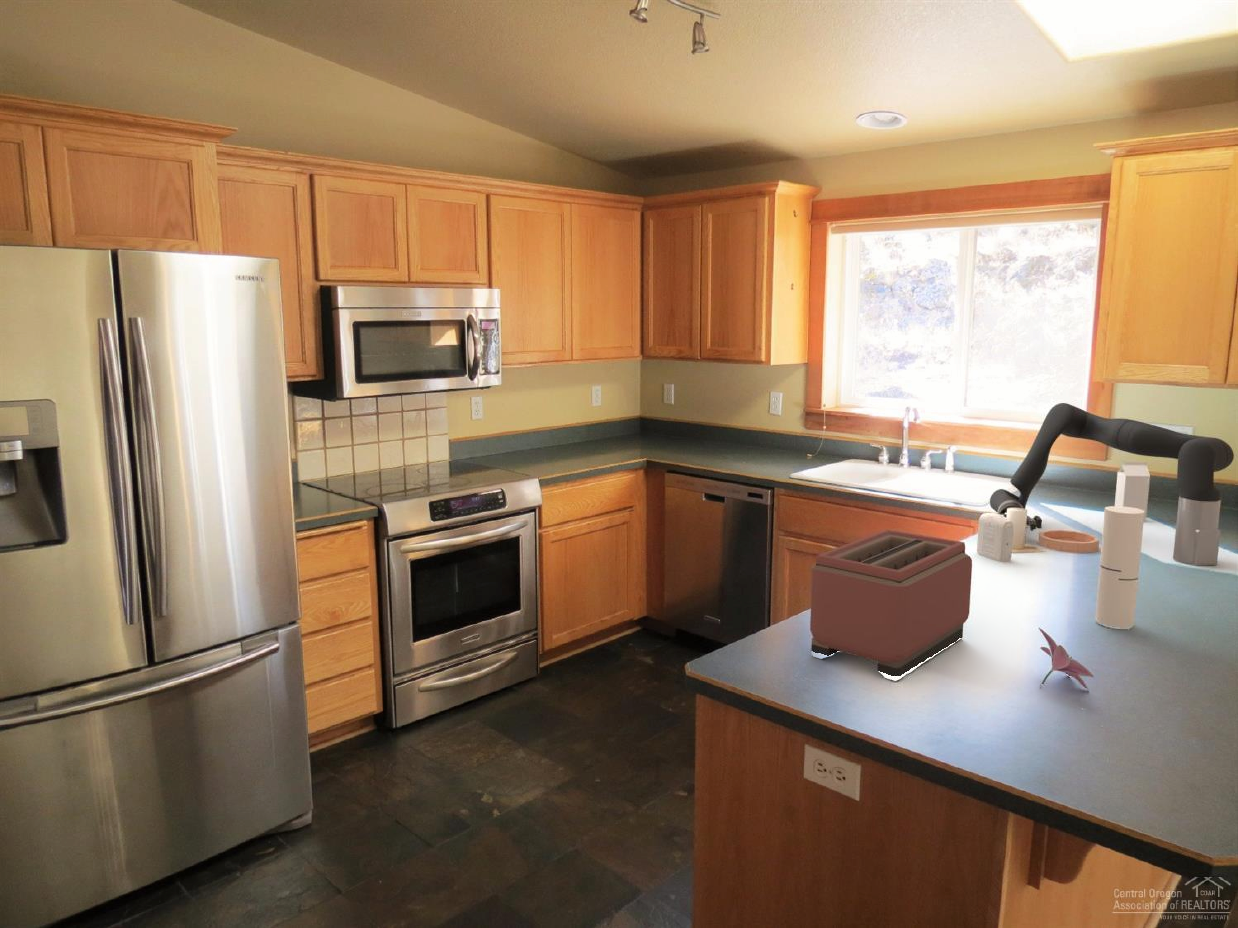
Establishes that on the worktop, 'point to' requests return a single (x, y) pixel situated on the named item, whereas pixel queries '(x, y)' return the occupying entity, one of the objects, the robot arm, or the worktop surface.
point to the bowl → (1068, 541)
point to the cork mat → (1027, 549)
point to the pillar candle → (1018, 526)
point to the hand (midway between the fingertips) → (1016, 526)
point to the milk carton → (1133, 486)
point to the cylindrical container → (1119, 566)
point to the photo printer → (995, 537)
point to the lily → (1064, 661)
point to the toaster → (890, 598)
